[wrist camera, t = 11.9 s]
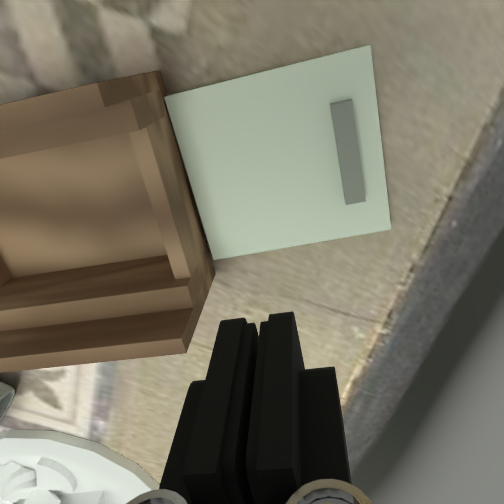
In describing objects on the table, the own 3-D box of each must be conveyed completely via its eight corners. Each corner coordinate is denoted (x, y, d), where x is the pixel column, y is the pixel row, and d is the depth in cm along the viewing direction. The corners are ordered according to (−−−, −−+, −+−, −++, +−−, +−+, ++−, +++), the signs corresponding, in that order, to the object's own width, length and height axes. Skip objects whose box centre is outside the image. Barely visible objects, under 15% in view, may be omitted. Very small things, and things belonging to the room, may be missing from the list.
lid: (170, 94, 27) (160, 98, 25) (366, 44, 25) (372, 45, 23) (217, 250, 31) (211, 265, 29) (387, 220, 29) (393, 234, 27)
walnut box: (-67, 121, 29) (-210, 152, 21) (159, 70, 26) (96, 82, 18) (21, 300, 34) (-63, 379, 26) (215, 274, 32) (186, 353, 24)
